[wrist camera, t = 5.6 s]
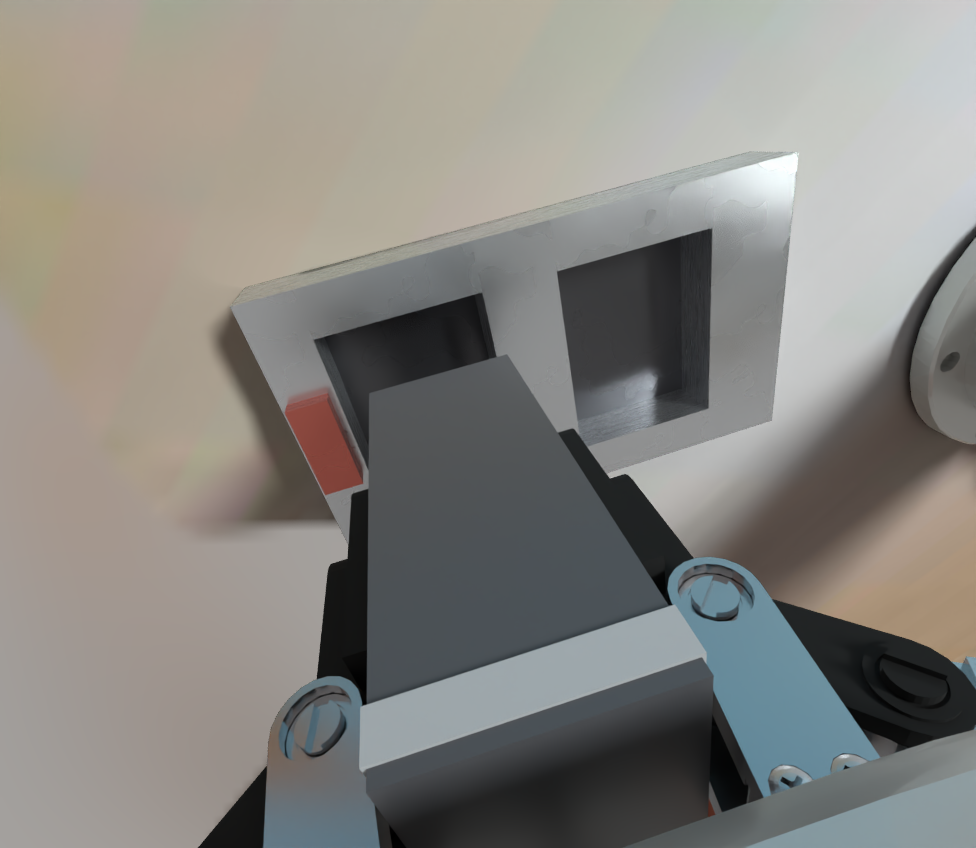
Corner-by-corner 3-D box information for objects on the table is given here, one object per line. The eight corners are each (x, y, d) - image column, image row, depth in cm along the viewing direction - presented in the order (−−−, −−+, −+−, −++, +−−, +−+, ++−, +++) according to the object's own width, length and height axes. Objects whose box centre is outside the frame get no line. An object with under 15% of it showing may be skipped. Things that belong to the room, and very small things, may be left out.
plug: (508, 351, 12) (719, 671, 5) (540, 504, 15) (709, 866, 7) (366, 392, 12) (358, 791, 5) (423, 540, 14) (477, 950, 7)
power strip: (751, 151, 16) (811, 152, 14) (737, 397, 20) (781, 426, 18) (245, 287, 14) (225, 312, 12) (353, 517, 19) (352, 564, 17)
